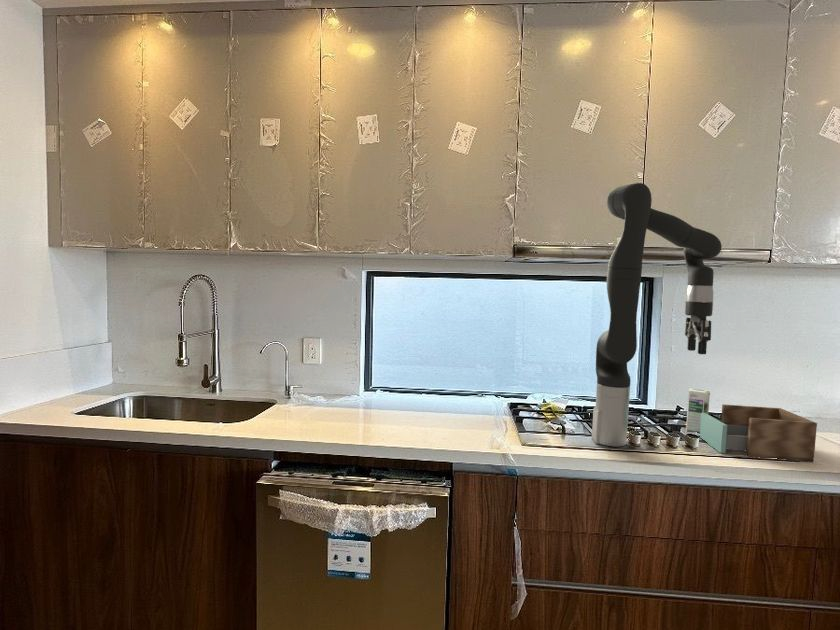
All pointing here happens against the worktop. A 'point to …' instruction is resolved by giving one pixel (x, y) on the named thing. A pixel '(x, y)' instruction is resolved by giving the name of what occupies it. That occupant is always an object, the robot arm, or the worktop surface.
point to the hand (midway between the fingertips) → (696, 352)
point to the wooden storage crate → (773, 432)
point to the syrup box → (696, 408)
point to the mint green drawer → (723, 434)
